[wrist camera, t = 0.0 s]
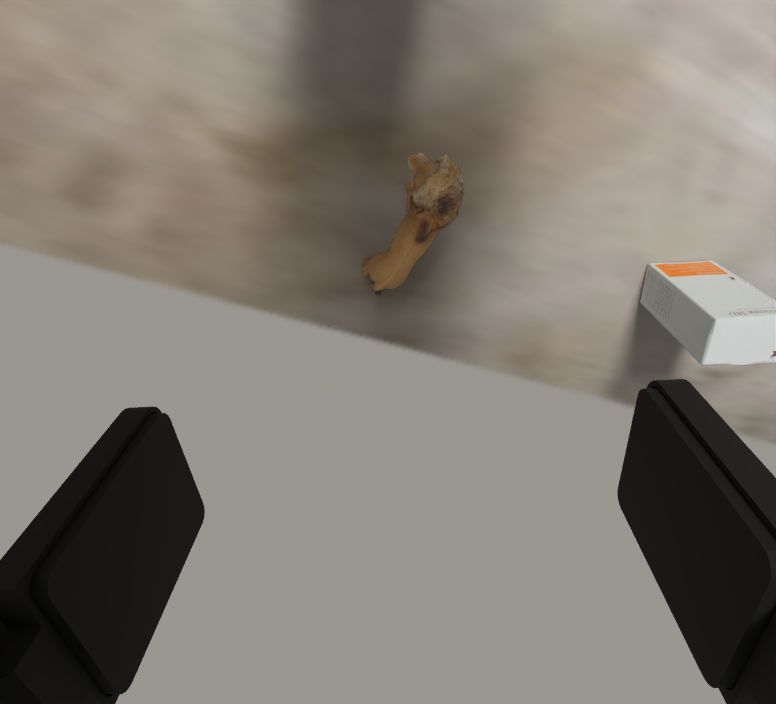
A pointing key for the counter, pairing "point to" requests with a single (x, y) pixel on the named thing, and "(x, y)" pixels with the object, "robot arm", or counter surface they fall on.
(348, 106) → the counter surface
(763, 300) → the skincare box
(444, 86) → the counter surface
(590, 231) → the counter surface
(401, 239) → the lion figurine
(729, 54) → the counter surface
